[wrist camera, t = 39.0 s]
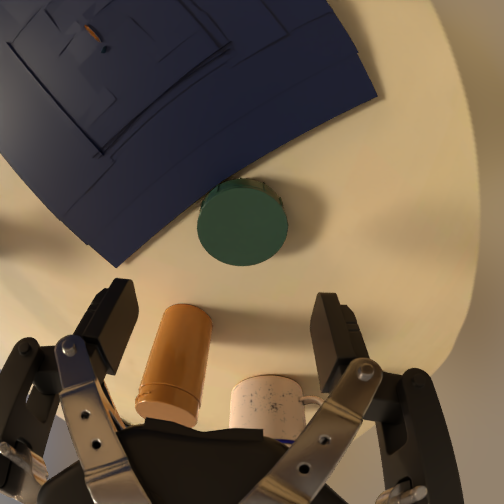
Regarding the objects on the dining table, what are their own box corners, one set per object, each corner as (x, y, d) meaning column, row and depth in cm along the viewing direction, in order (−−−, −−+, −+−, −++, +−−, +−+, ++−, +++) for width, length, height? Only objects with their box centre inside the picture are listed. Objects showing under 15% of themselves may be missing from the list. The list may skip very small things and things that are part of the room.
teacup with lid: (254, 414, 35) (253, 489, 25) (214, 385, 31) (205, 474, 21) (336, 389, 32) (350, 472, 22) (308, 353, 28) (322, 457, 18)
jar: (153, 318, 26) (122, 407, 17) (185, 295, 24) (157, 394, 16) (189, 346, 28) (172, 433, 19) (223, 326, 26) (212, 423, 17)
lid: (292, 241, 21) (295, 254, 20) (216, 260, 22) (215, 274, 21) (272, 167, 18) (275, 176, 17) (187, 193, 19) (183, 203, 17)
